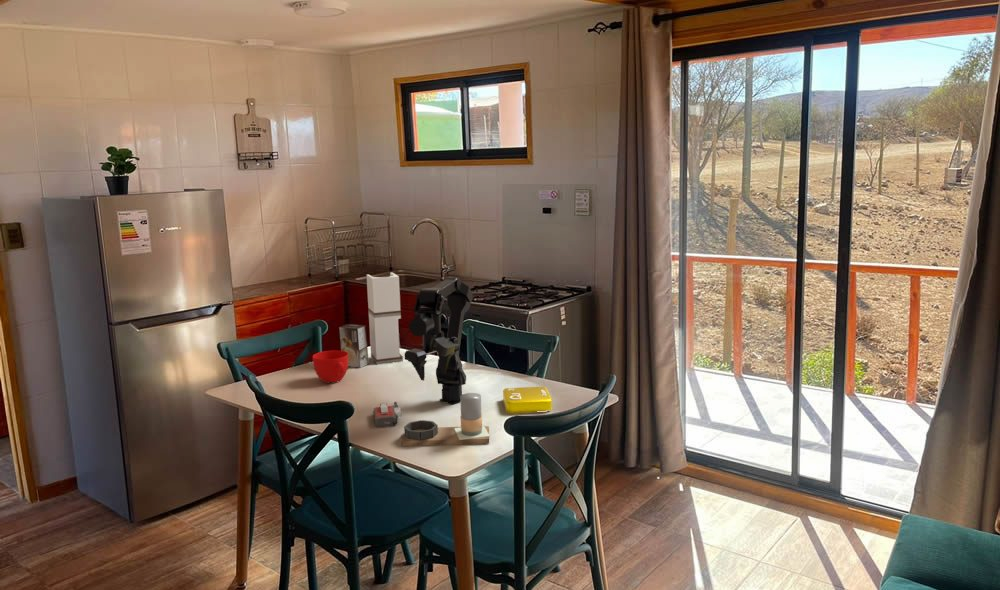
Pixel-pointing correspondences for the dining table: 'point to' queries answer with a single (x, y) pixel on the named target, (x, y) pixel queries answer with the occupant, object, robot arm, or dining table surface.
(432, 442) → the walnut board
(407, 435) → the grey octagonal ring
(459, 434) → the sage pad
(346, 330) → the coffee box
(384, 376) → the dining table surface
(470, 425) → the two-tone cylinder
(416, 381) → the dining table surface
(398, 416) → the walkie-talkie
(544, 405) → the element tile
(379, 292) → the tall white stacked column
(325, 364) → the ceramic cup
